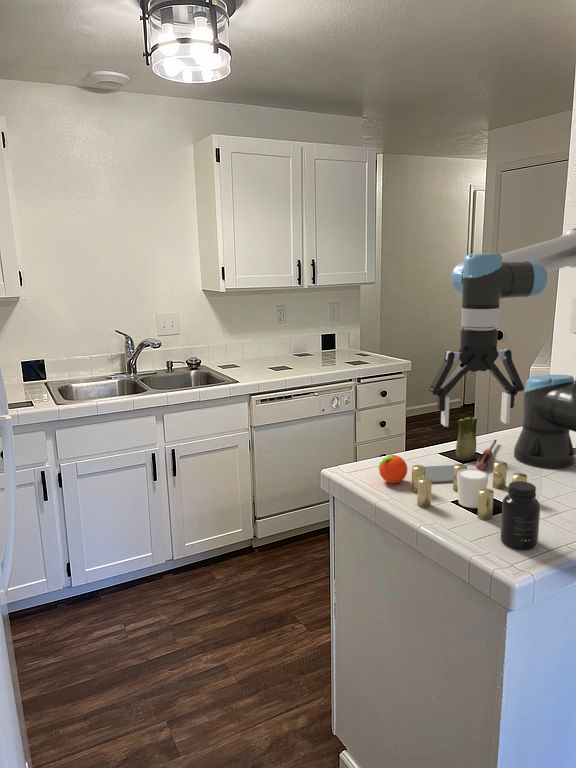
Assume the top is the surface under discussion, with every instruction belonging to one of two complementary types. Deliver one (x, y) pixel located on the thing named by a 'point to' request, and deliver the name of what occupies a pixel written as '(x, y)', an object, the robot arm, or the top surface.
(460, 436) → the fennel bulb
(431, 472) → the slate mat
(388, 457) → the clementine
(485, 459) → the screwdriver
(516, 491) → the supplement bottle
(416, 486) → the spacer field
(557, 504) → the top surface
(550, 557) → the top surface
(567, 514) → the top surface
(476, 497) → the white cup
